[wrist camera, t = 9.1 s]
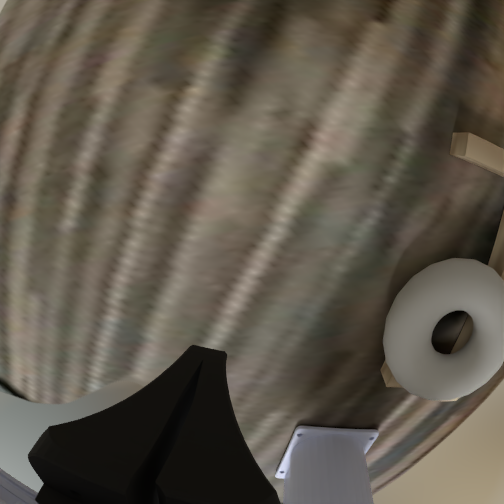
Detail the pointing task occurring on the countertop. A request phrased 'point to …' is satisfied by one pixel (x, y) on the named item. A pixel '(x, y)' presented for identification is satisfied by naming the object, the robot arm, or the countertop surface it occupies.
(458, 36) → the countertop surface
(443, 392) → the white rubber ring
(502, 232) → the drawer pull handle
